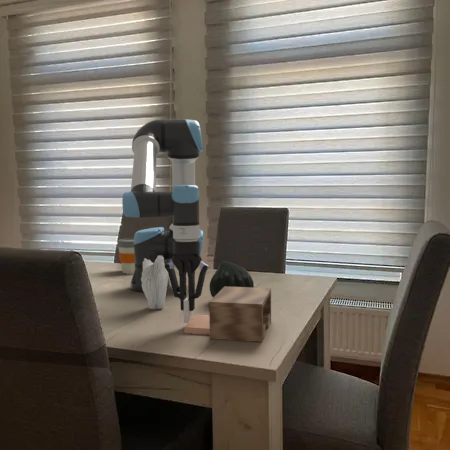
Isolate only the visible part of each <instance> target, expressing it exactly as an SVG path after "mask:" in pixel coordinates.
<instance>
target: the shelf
mask: <svg viewBox="0 0 450 450" xmlns="http://www.w3.org/2000/svg"><path fill="white" fill-rule="evenodd" d="M208 302H209V303H208V306H209V307H208V308H209V309H208V310H209V311H208V313H209V314H208V315H209V317H210V335H209V339H210V338H211V339H210V340H220V339H228V340H227V341H235V340H243V341H242V342H250V341H260V342H259V343H263V342H264V340H263V339H265V337H266V335H267V334H266V330H267V329H268V328H269V327H270V325H271V323H272V288H271V287H254V288H253V287H228V286H224V287H223V288H222V289H221V290H220V291H219V292H218V293H217V295H216V296H215V297H214V298H213V297H212V298H211V300H209V301H208ZM266 328H267V329H266ZM269 329H270V328H269ZM262 341H263V342H262Z"/></svg>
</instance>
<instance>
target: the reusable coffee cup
mask: <svg viewBox="0 0 450 450" xmlns="http://www.w3.org/2000/svg"><path fill="white" fill-rule="evenodd" d="M117 247H118V257H119V263H120V264H121V270H122V273H123V274H124V273H126V275H133V274H134V270H135V253H134V237H131V238H130V237H128V238H121V239H118V240H117Z"/></svg>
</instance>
